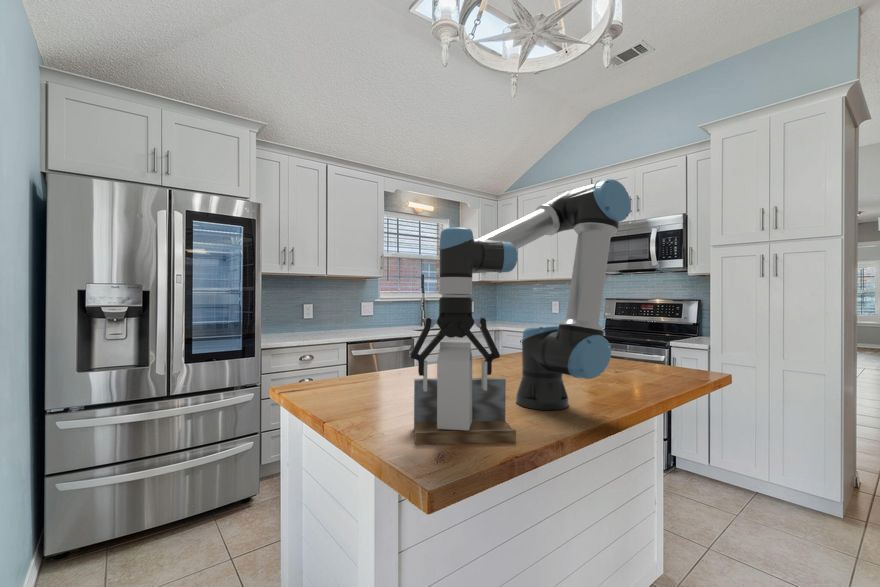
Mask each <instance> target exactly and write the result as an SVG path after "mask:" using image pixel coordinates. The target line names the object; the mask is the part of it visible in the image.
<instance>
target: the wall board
mask: <svg viewBox="0 0 880 587" xmlns="http://www.w3.org/2000/svg"><path fill="white" fill-rule="evenodd" d="M413 380H414V390H413V391H414V392H413V393H414V395H413V432H414V441H415V446H427V445H428V446H429V445H431V446H432V445H433V446H435V445H462V444H463V445H464V444H465V445H466V444H467V445H469V444H470V445H471V444H472V445H473V444H499V443H501V444H502V443H503V444H504V443H506V444H507V443H517V441H516V440H517V437H516V436H517V435H516V434H517V431H516V429H515V428H512V427H511V425H510V424H509V423H508V422H507V421H506V393H507V392H506V390H507V389H506V388H507V387H506V385H507V382H506V378H504V377H487V390H483V389H482V388H481V384H482V377H472V423H471V426H470V429H469V430H449V429H437V377H436V378H427V391H424V390H423V378H414V379H413Z"/></svg>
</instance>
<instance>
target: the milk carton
mask: <svg viewBox="0 0 880 587" xmlns="http://www.w3.org/2000/svg"><path fill="white" fill-rule="evenodd" d="M471 343H472V342H462V341H461V342H460V341H459V342H458V341H454V342H453V341H440V342H439V349H438V350H439V351H438V354H437V355H438V356H437V360H436V361H437V363H436V364H437V366H436V367H437V370H436V372H437V373H436V375H437V376H436V378H437V429H449V430H469V429H470V426H471V423H472V378H473V355H472V354H473V353H472V346H471V345H472V344H471Z"/></svg>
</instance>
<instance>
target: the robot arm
mask: <svg viewBox="0 0 880 587" xmlns="http://www.w3.org/2000/svg"><path fill="white" fill-rule="evenodd" d="M630 198H631V197H630V195H629V192H628V191H627V188H626V187H625V186H624V185H623V184H622V183H621V182H620V181H618V180H616V179H611V178H609V179H604V180H597V181H595V182H594V183H590V184H586V185H583V186H579V187H576V188H572V189H568V190H566V191H565V192H563V193H561V194H558V195H557V196H556V197H554V198H552V199H551V200H547V201H546V202H544V203H543V204H541V205H538V206H537V207H536V209H535V211H534V212H531V213H529V214H527V215H525V216H523V217H520V218H518V219H516V220H513V222H510V223H508V224H506V225H504V226H501V227H499V228H497V229H495V230H493V231H491V232H488V233H486V234H484V235H482V236H480V237H478V238H474V233H473V231H472V229H470V228H467V227H449V228H445V229H442V230H441V232H440V238H439V245H438V246H439V247H438V250H439V284H438V285H439V291H438V292H439V295H440V296H441V297H439V299H438V301H439V304H438V306H439V307H438V318H432V317H428V316H427V317H425V319H424V326H423V329H422V331H421V333H420V335H419V336H418V339H417V341H416V342H415V345H414V347H413V349H412V351H411V352H410V357H411V359H413V360H416V361H417V362H418V363H417V364H418V368H417V369H418V371H417V372H418V376H419V377H422V379H423V390H424V391H427V379H428V360H427V358H428V357H429V355H430V354H431V353H432V352H433V351H434V349H435V348H436V347H437V346H438V345H439V344H440V342H442V340H443V339H444V338H445V337H446V338H455V337H456V338H460V339H462V338H464V337H466V338H468V339H469V341H470V343H472V345H474V347H475V348H476V349H477V350H478V352H479V353H480V354H481V355H482V356H483V358H484V359H481V378H482V384H481V388H482V389H483V390H487V378H488V376H491V375H492V373H493V372H492V369H493V368H492V366H493V364H492V363H493V361H494V360H496V359H499V358H500V357H501V355H500V354H501V353H500V352H499V351H498V350H499V349H497V346H496V344H495V342H494V340H493V337H492V336H491V333H490V331H489V330H488V327H487V320H486V318H484V317H483V316H482V317H479V318H473V299H472V297H470V296H472V295H473V274H483V273H486V274H487V273H499V274H502V273H510V272H512V271H513V270H514V269H515V268H516V265H517V263H518V249H520V248H522V247H524V246H526V245H529V244H530V243H532V242H534V241H537V240H538V239H540V238H542V237H544V236H546V235H547V236H553V235H555V234H557V233H560V232H564V231H569V230H574V232H575V233H576V234H577V239H576V240H577V241H576V247H575V254H574V260H573V266H572V274H571V280H570V288H569V293H568V294H569V295H568V300H567V301H568V302H567V306H566V307H567V308H566V314H565V319H564V320H562V321H561V322H559V324H558V325H551V326H536V327H535V326H534V327H532V326H531V327H526V328H525V329H524V330H523V332H522V339H521V342H522V343H521V350H522V351H521V353H522V354H521V355H522V356H521V360H522V361H521V364H522V366H521V367H522V368H521V369H522V371H521V372H522V375H521V380H520V383H519V386H518V388H517V392H516V395H515V398H516V399H515V402H516V404H518V405H519V406H521V407H525V408H528V409H533V410H543V411H556V410H557V411H558V410H563V409H566V408H568V407H569V396H568V392H567V389H566V386H565V382H564V381H563V380H564V379H563V375H566V376H571V377H573V378H576V379H583V380H584V379H585V380H593V379H596V378H597V377H599V376H600V375H601V374H602V373H604V372H605V371H606V369H607V368H608V366H609V364H610V361H611V358H612V357H611V356H612V349H611V346H610V343H609V342H610V341H608V339H607V338H605V337H604V333H605V329H604V328H603V327H602V325H600V317H601V311H602V302H603V297H604V296H603V295H604V288H605V282H606V275H607V266H608V260H609V259H608V258H609V252H610V245H611V238H612V237H613V236H614V235H616V234H617V233H618V231H619V223H621V222H623V221H624V220H626V219H627V218H628V217H629V215H630V213H631V205H632V204H631V199H630ZM436 324H437V326H438V327H439V329H440V330H439V331H438V332H437V334H436V335H435V337H434V338H433V339H432V340H431V341H430V342H429V343H428V344H427V346H426V347H425V348H424V349H423V350H422V352H421V353H420V350H421V349H422V346H423V344H424V343H425V340H426V339H427V336H428V335H429V333H430V330H431V328H432V329H433V328H434V327H435V326H436ZM474 324H475V325H476V327H477V328H478V329H479V330H480V332H481V334H482V336H483V338H484V340H485V343H486V344H487V347H488V349H489V350H490V353H489V352H488V351H487V349H486V348H485V347H484V346H483V344H482V343H481V342H480V341H479V339H478V338H477V337H476V336H475V335H474V333H473V332H472V331H471V330H472V328H473V326H474ZM419 353H420V354H419Z"/></svg>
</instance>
